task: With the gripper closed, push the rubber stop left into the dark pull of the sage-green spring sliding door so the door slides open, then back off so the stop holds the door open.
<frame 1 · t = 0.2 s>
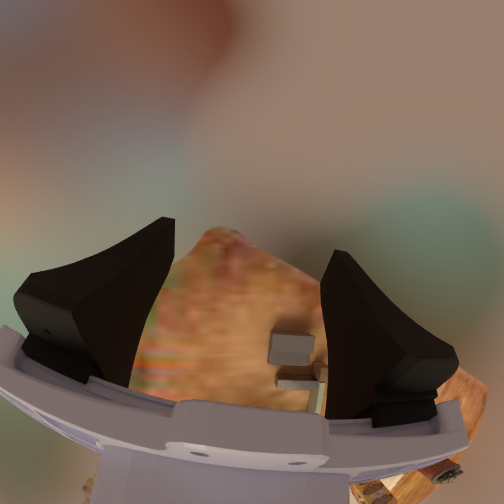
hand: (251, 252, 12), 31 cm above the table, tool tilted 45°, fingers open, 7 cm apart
rubber stop: (287, 347, 41), on the table
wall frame: (309, 397, 39), on the table
lighter: (429, 461, 36), on the table
sliding door: (296, 402, 37), point 3 cm above the table, slide at 0.0 cm
candy box: (357, 476, 36), on the table
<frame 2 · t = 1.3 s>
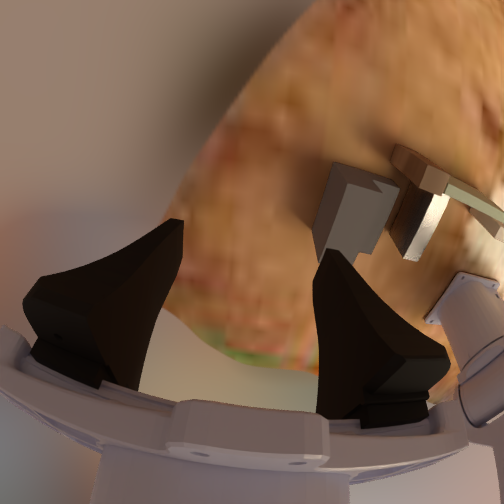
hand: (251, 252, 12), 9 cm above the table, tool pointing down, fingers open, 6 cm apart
rubber stop: (351, 204, 21), on the table
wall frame: (448, 183, 18), on the table
sliding door: (450, 224, 18), point 3 cm above the table, slide at 0.0 cm
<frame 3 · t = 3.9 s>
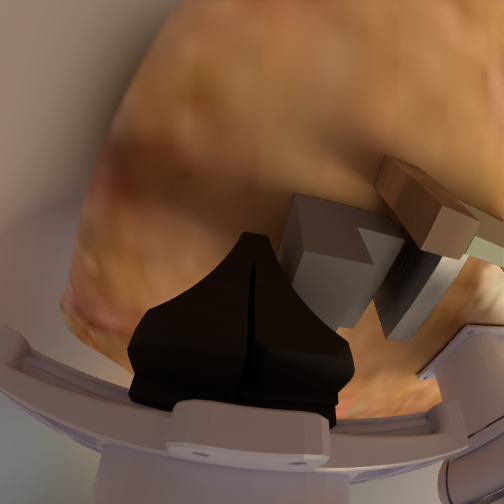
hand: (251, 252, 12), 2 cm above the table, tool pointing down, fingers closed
rubber stop: (326, 256, 14), on the table, touching gripper
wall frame: (465, 216, 12), on the table
sliding door: (464, 282, 11), point 3 cm above the table, slide at 0.0 cm
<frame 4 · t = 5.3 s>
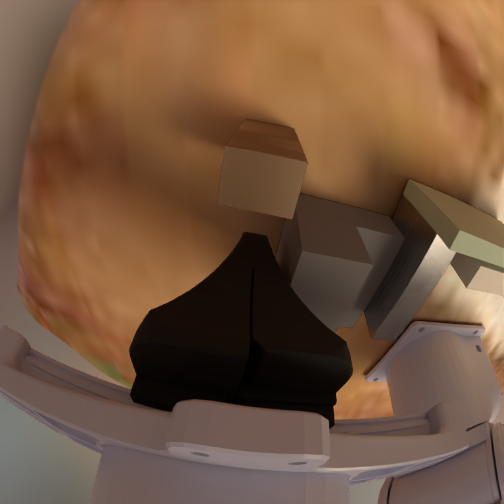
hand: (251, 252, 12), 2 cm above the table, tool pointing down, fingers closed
rubber stop: (325, 255, 14), on the table, touching gripper, sliding door
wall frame: (377, 183, 11), on the table
sliding door: (455, 280, 11), point 3 cm above the table, slide at 5.3 cm, touching rubber stop
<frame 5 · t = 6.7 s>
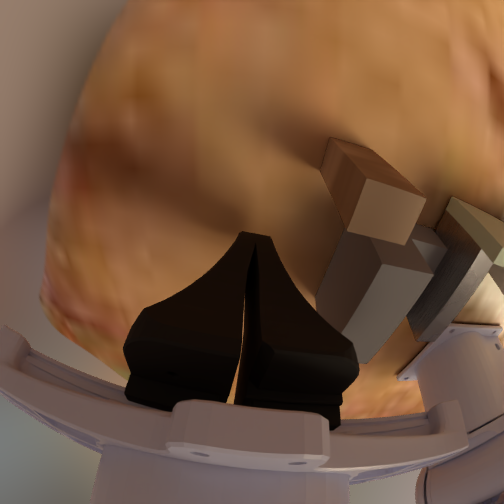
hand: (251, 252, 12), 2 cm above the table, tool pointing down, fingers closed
rubber stop: (373, 263, 14), on the table
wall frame: (433, 203, 11), on the table
sliding door: (484, 286, 11), point 3 cm above the table, slide at 4.7 cm
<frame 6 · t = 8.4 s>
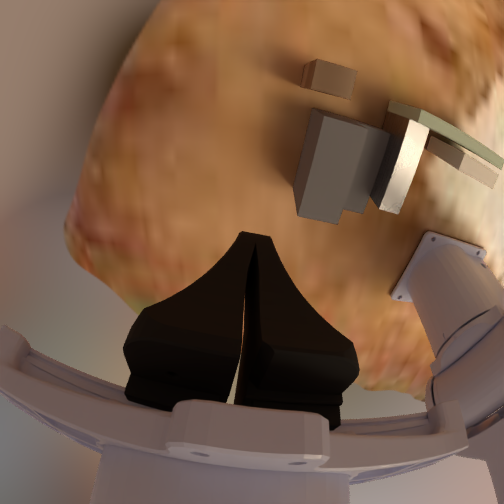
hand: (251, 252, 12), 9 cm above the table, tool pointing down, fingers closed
rubber stop: (336, 156, 18), on the table
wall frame: (388, 111, 15), on the table
sliding door: (436, 171, 15), point 3 cm above the table, slide at 3.8 cm
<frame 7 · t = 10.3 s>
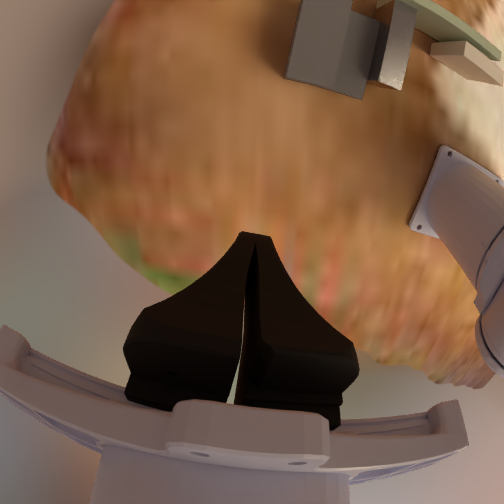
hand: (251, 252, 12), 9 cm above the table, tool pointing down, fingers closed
rubber stop: (328, 49, 14), on the table, touching sliding door
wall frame: (386, 15, 11), on the table
sliding door: (434, 60, 11), point 3 cm above the table, slide at 3.1 cm, touching rubber stop
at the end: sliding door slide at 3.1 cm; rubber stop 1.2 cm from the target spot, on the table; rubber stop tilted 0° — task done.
